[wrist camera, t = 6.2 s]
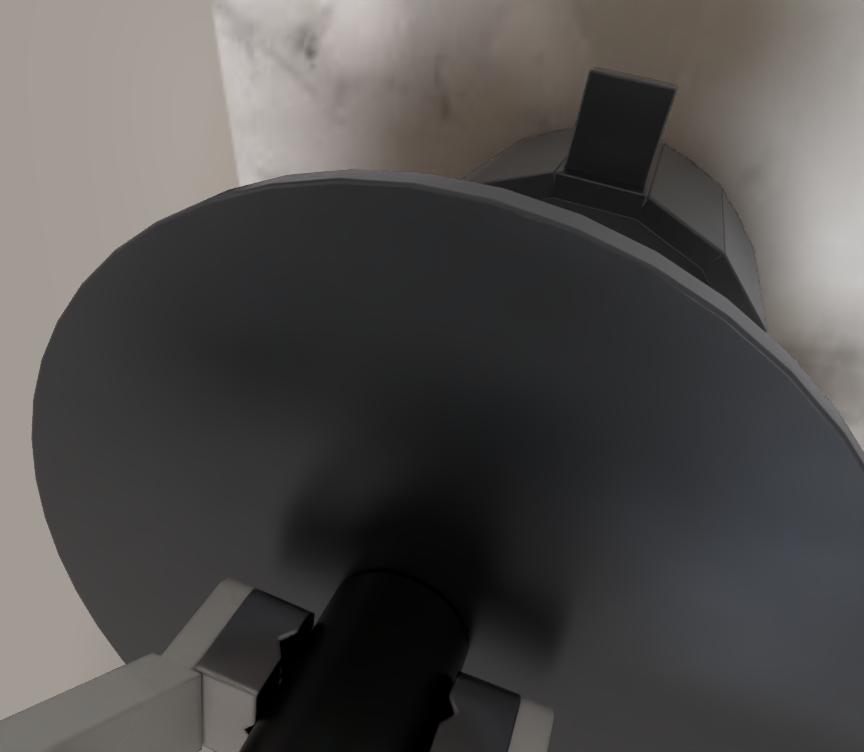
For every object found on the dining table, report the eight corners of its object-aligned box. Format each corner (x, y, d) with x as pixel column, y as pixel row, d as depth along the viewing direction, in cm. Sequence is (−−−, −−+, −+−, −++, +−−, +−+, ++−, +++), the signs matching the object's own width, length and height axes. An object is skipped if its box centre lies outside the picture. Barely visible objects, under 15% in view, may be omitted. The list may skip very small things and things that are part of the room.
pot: (405, 419, 37) (332, 521, 30) (475, 17, 27) (391, 28, 20) (665, 508, 34) (653, 643, 27) (849, 97, 24) (906, 143, 17)
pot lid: (109, 668, 18) (-56, 859, 14) (31, 48, 10) (-381, 90, 6) (685, 928, 15) (680, 1256, 11) (1178, 349, 7) (1696, 752, 4)
